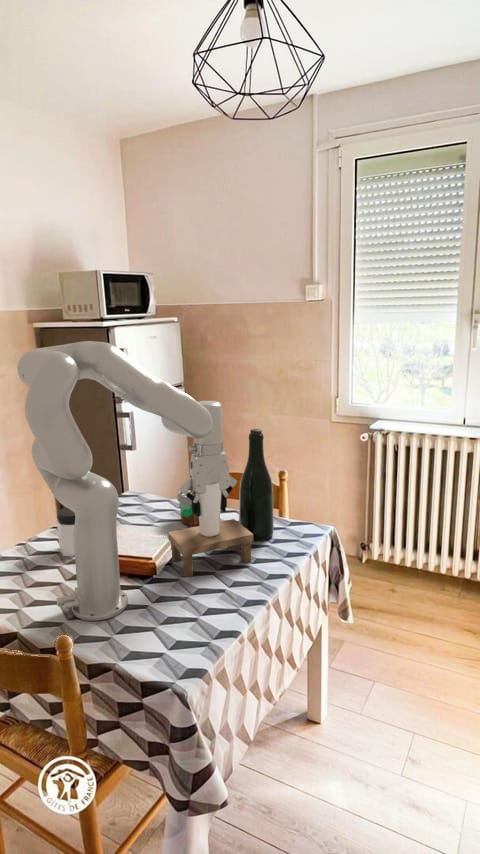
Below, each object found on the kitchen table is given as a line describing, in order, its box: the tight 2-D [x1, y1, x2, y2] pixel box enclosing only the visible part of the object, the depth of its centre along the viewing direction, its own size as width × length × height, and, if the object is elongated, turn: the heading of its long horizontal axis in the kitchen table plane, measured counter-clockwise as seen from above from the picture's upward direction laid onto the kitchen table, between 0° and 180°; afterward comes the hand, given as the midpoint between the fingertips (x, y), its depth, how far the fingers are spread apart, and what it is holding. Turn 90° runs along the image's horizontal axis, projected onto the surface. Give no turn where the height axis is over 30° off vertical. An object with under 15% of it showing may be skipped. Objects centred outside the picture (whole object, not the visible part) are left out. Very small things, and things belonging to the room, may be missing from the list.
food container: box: [176, 487, 200, 528], centre depth 169 cm, size 12×6×10 cm, turn 17°
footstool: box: [167, 518, 254, 578], centre depth 143 cm, size 20×12×8 cm, turn 117°
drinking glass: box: [198, 483, 221, 537], centre depth 141 cm, size 7×7×15 cm
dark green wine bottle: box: [238, 428, 275, 542], centre depth 157 cm, size 10×10×33 cm
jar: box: [56, 507, 75, 557], centre depth 150 cm, size 9×8×12 cm
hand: (209, 512), depth 141 cm, fingers open, 6 cm apart
